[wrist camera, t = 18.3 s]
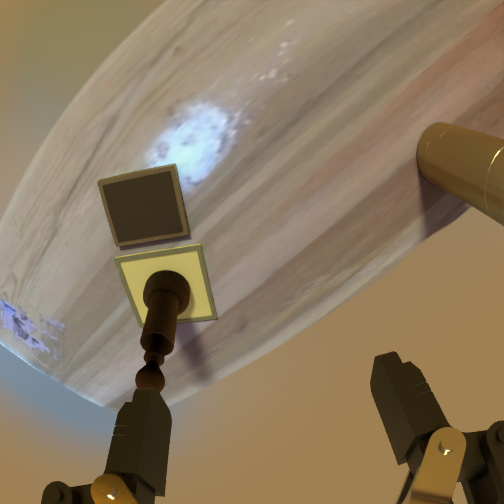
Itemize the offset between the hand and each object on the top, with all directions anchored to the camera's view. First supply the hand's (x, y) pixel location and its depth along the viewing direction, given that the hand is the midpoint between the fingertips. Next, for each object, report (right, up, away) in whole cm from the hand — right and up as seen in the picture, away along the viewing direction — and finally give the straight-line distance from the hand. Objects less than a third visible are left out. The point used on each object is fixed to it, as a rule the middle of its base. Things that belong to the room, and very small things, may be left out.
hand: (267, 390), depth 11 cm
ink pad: (-14, +11, +27) cm, 33 cm away
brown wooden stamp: (-12, 0, +33) cm, 35 cm away
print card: (-12, 0, +33) cm, 36 cm away
